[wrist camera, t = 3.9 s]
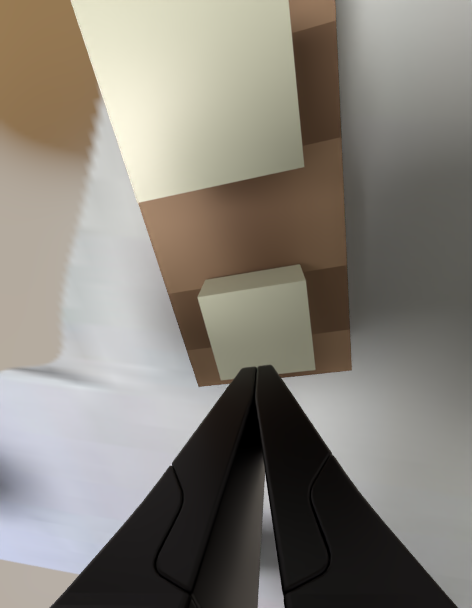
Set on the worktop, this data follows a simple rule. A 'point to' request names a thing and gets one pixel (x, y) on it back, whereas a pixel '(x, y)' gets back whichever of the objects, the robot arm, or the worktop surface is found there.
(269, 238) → the bar
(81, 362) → the worktop surface
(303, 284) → the plunger
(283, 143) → the plunger
